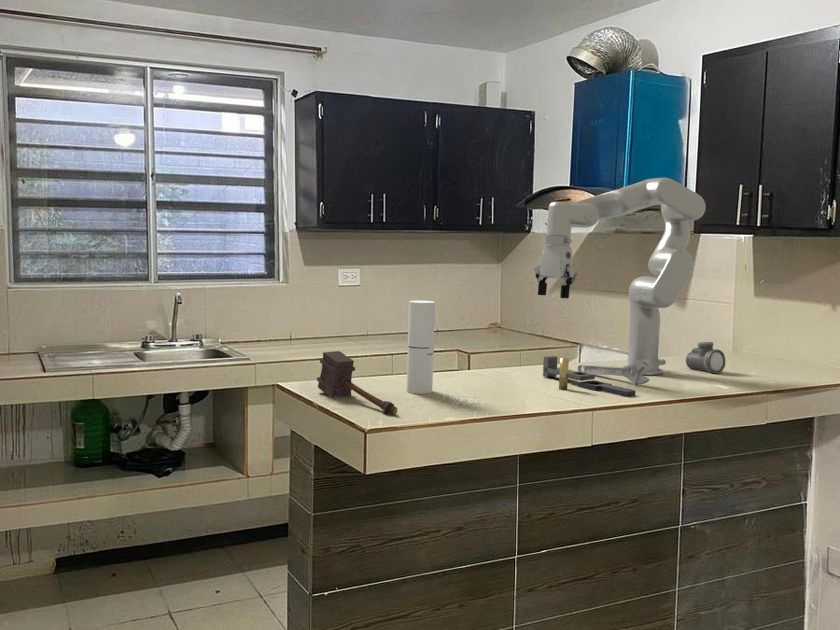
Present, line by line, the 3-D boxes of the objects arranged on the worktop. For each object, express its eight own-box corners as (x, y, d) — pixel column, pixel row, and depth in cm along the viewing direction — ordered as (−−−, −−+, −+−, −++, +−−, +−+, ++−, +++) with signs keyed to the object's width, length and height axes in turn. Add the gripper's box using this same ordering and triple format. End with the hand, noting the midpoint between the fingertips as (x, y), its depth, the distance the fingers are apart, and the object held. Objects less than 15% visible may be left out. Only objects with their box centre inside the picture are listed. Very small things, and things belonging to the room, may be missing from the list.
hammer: (337, 384, 222) (341, 350, 219) (403, 433, 196) (409, 395, 194) (315, 386, 218) (319, 351, 215) (380, 437, 192) (386, 398, 190)
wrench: (581, 381, 261) (654, 386, 237) (577, 381, 260) (650, 387, 236) (580, 357, 261) (653, 360, 237) (576, 357, 260) (649, 360, 236)
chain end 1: (554, 374, 253) (555, 355, 252) (594, 384, 239) (595, 363, 239) (540, 376, 249) (541, 356, 249) (579, 385, 236) (581, 365, 235)
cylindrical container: (402, 389, 225) (405, 300, 222) (426, 388, 228) (428, 300, 225) (412, 394, 218) (415, 303, 216) (436, 393, 221) (439, 302, 218)
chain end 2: (593, 384, 240) (594, 380, 240) (638, 394, 227) (638, 390, 226) (577, 386, 236) (578, 382, 236) (622, 397, 223) (622, 392, 222)
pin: (563, 387, 234) (564, 357, 233) (569, 389, 232) (570, 358, 231) (557, 388, 232) (558, 358, 231) (563, 390, 230) (564, 359, 229)
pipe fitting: (728, 371, 267) (725, 341, 267) (711, 375, 264) (708, 344, 263) (699, 370, 278) (697, 340, 277) (683, 373, 274) (680, 343, 274)
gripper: (587, 244, 245) (581, 299, 247) (546, 241, 259) (541, 294, 260) (570, 242, 241) (565, 299, 242) (529, 240, 254) (524, 293, 256)
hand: (552, 296), depth 251 cm, fingers open, 9 cm apart
